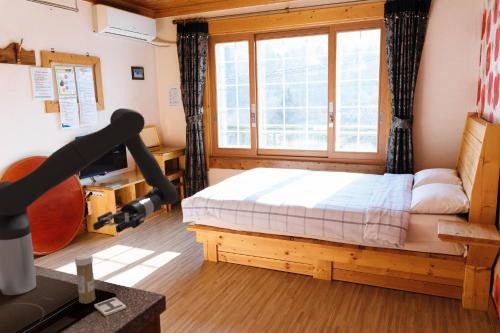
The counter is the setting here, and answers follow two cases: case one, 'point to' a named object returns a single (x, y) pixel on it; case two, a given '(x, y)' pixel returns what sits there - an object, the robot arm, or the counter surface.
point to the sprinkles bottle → (85, 278)
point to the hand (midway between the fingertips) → (105, 228)
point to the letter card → (110, 306)
